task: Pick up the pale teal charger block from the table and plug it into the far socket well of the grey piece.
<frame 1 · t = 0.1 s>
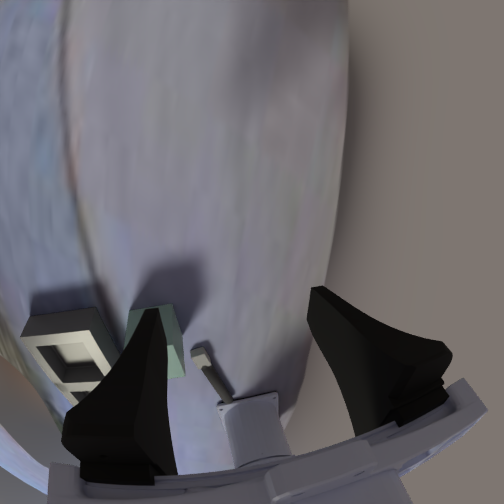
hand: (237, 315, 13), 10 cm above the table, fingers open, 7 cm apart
grey piece: (91, 364, 26), on the table
cable piece: (216, 379, 31), on the table
charger: (156, 323, 25), on the table
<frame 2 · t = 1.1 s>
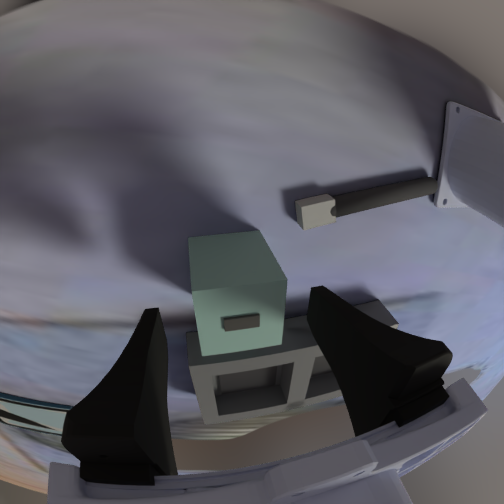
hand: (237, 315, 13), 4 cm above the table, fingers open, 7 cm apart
grey piece: (288, 354, 22), on the table
smartphone: (35, 411, 22), on the table
cable piece: (381, 191, 17), on the table
charger: (225, 264, 17), on the table
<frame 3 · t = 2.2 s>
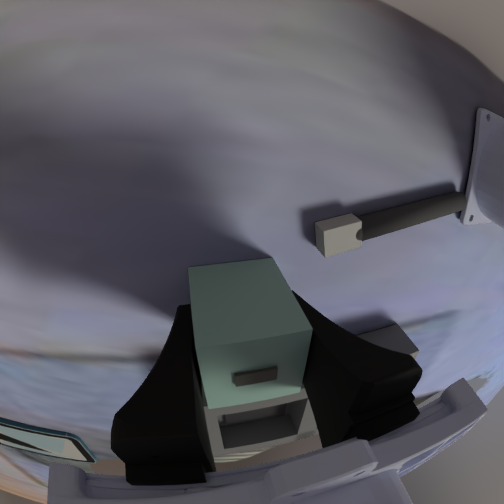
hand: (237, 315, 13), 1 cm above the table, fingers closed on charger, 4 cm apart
grey piece: (298, 383, 20), on the table
smartphone: (29, 434, 19), on the table
cable piece: (408, 209, 15), on the table
charger: (232, 296, 15), on the table, touching gripper
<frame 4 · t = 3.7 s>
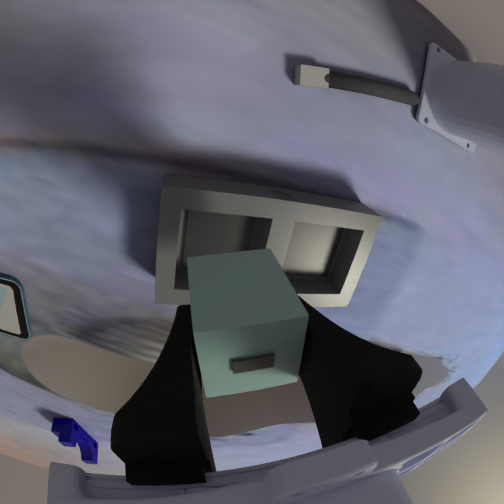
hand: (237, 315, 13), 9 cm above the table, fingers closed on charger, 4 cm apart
cable holder: (76, 429, 30), on the table
grey piece: (262, 238, 22), on the table
cable piece: (369, 87, 18), on the table
charger: (230, 287, 15), point 7 cm above the table, touching gripper
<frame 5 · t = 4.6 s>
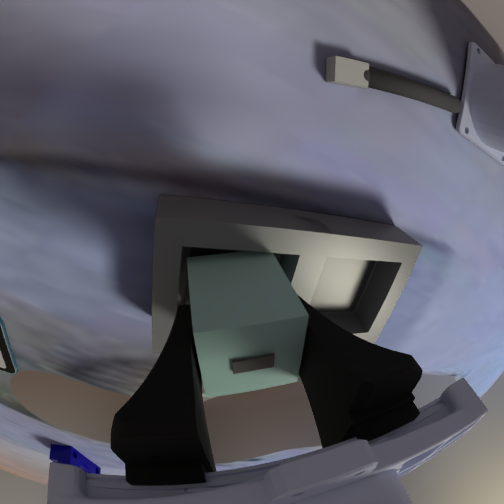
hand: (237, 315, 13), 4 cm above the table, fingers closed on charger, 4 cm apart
cable holder: (76, 455, 27), on the table
grey piece: (281, 271, 18), on the table
cable piece: (409, 90, 14), on the table
charger: (230, 287, 15), point 2 cm above the table, touching gripper
when the fingers open (4 cm above the table, at t = 5.2 s): charger stays where it is, resting on grey piece.
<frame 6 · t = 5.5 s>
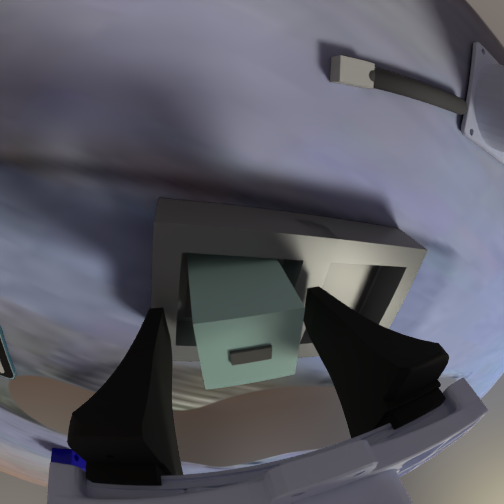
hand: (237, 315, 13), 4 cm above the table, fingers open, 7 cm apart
cable holder: (79, 458, 26), on the table
grey piece: (283, 276, 17), on the table
cable piece: (414, 90, 13), on the table
charger: (229, 282, 15), point 1 cm above the table, touching grey piece
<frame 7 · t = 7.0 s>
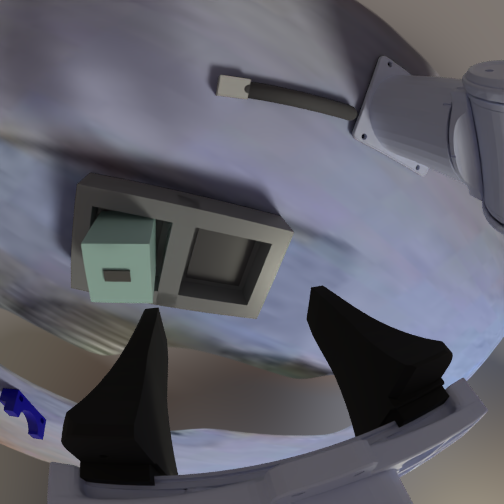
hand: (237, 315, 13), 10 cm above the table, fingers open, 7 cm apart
cable holder: (25, 402, 28), on the table
grey piece: (175, 241, 22), on the table
cable piece: (299, 100, 19), on the table
charger: (129, 237, 20), point 1 cm above the table, touching grey piece
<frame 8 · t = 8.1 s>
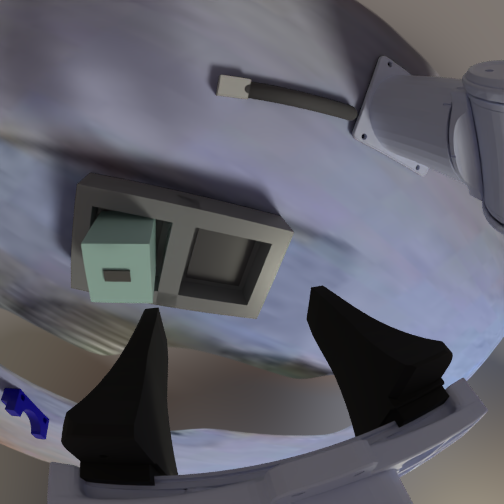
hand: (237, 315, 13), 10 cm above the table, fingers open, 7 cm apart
cable holder: (27, 402, 28), on the table
grey piece: (175, 241, 22), on the table
cable piece: (299, 100, 19), on the table
charger: (129, 237, 20), point 1 cm above the table, touching grey piece
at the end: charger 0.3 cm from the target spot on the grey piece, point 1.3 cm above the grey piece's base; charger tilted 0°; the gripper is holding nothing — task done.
